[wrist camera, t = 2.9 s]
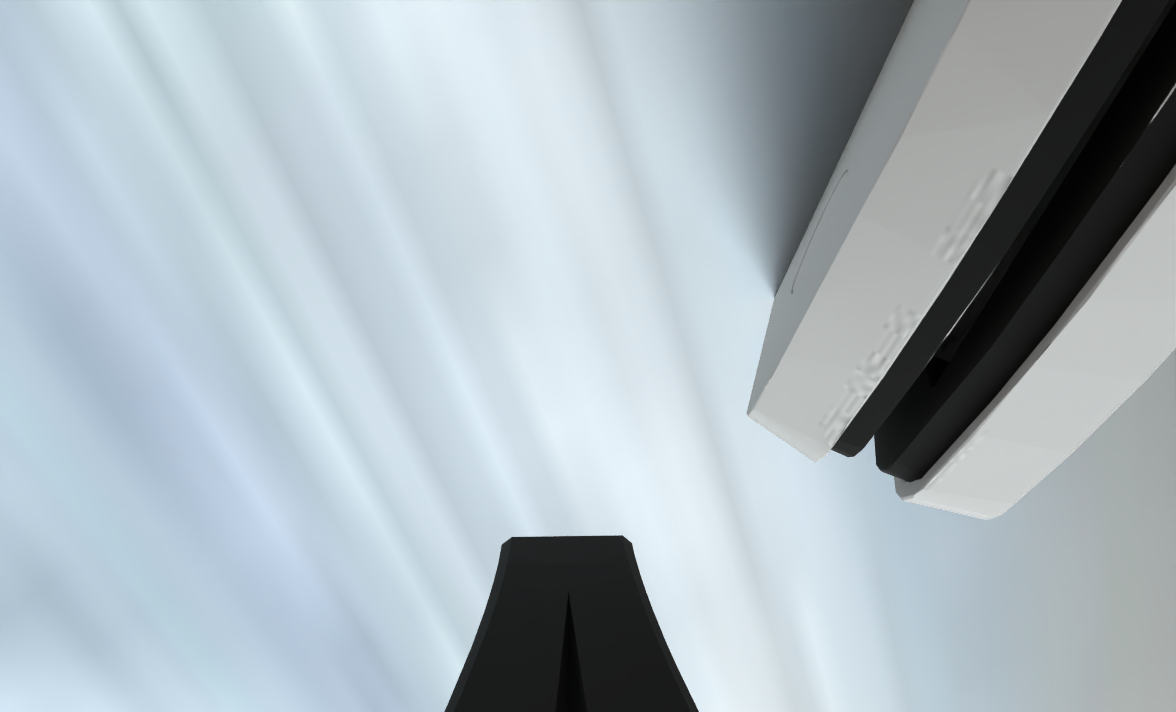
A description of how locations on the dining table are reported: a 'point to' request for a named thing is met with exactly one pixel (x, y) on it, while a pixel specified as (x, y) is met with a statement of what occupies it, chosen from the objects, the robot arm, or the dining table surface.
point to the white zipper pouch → (986, 250)
